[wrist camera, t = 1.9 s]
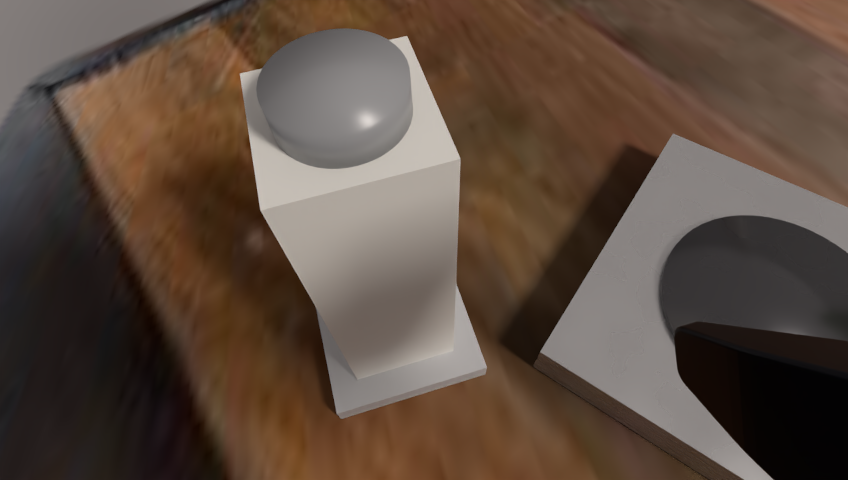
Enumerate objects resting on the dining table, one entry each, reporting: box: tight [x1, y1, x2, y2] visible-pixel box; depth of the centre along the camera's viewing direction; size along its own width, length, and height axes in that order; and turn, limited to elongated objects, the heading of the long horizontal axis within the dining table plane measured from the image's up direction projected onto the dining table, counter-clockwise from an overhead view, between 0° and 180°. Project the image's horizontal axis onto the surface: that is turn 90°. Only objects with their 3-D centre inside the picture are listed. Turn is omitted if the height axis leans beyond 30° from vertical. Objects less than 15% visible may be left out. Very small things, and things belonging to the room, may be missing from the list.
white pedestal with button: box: [240, 29, 487, 419], centre depth 17 cm, size 6×6×14 cm
